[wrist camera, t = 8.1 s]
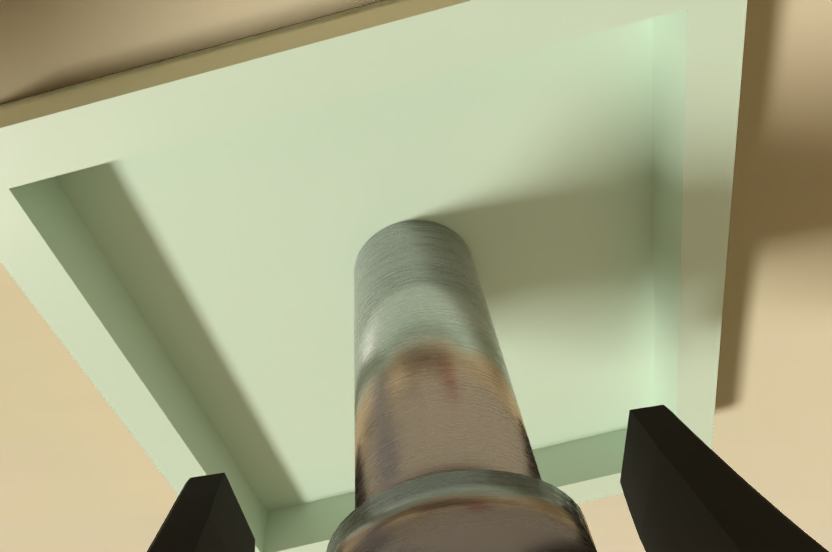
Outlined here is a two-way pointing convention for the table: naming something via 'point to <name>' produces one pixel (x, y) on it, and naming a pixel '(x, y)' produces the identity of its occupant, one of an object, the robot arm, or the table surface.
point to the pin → (440, 413)
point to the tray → (376, 209)
